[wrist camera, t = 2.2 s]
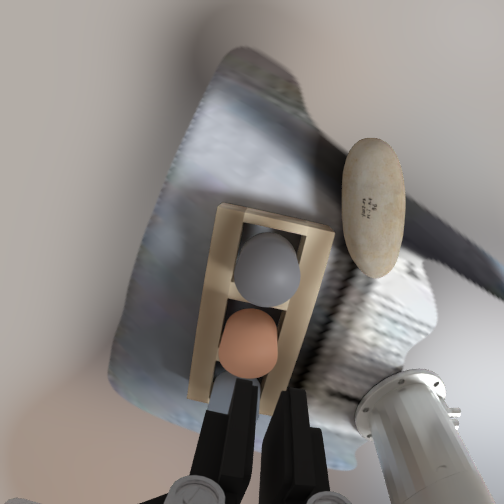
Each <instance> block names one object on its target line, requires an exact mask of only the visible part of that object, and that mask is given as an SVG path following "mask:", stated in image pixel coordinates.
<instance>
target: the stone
mask: <svg viewBox="0 0 504 504" xmlns="http://www.w3.org/2000/svg"><path fill="white" fill-rule="evenodd" d="M404 219H405V187H404V180H403V174H402V169H401V166H400V162H399V160H398V157H397V155H396V153H395V152H394V150H393V149H392V147H391V146H390V145H389V144H388V143H386V142H384V141H382V140H381V139H377V138H365V139H362V140H359V141H358V142H357V143H356V144H355V145H354V146H353V147H352V149H351V150H350V151H349V153H348V155H347V158H346V162H345V165H344V170H343V179H342V222H343V232H344V238H345V242H346V246H347V248H348V251H349V253H350V255H351V257H352V259H353V261H354V262H355V264H356V265H357V266H358V268H359V269H360V270H361V271H362V272H363V273H364V274H365V275H367V276H369V277H371V278H380V277H383V276H385V275H386V274H388V273H389V272H390V271H391V270H392V268H393V267H394V265H395V263H396V261H397V258H398V255H399V250H400V246H401V242H402V237H403V229H404Z"/></svg>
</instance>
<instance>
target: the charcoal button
mask: <svg viewBox="0 0 504 504" xmlns="http://www.w3.org/2000/svg"><path fill="white" fill-rule="evenodd" d="M300 277H301V275H300V268H299V264H298V260H297V256H296V253H295V250H294V248H293V246H292V244H291V243H290V242H289V241H288V240H287V239H286V238H285V237H283V236H281V235H279V234H276V233H271V232H265V233H260V234H257V235H255V236H253V237H251V238H250V239H249V240H247V241H246V243H245V244H244V245H243V247H242V249H241V251H240V254H239V257H238V260H237V263H236V266H235V270H234V282H235V285H236V288H237V290H238V292H239V293H240V294H241V296H242V297H243V298H244V299H245V300H247V301H248V302H250V303H252V304H254V305H257V306H260V307H274V306H278V305H281V304H283V303H285V302H286V301H288V300H289V299H290V298H291V297H292V296H293V295H294V294H295V292H296V291H297V289H298V287H299V284H300Z"/></svg>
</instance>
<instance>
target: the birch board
mask: <svg viewBox="0 0 504 504" xmlns="http://www.w3.org/2000/svg"><path fill="white" fill-rule="evenodd" d="M244 222H246V223H251V224H255V225H260V226H265V227H269V228H274V229H278V230H283V231H287V232H292V233H296V234H301V235H302V236H301V240H300V243H299V247H298V251H297V255H296V256H297V260H298V264H299V268H300V275H301V277H300V284H299V287H298V289H297V291H296V292H295V294H294V295H293V296H292V297H291V298H290V299H289V300H288V301H286V302H285V303H283V304H281V305H278V306H274V307H271V308H276V309H281V310H282V312H281V315H280V319H279V323H278V326H277V347H278V358H277V362H276V365H275V366H274V368H273V369H272V370H271V371H270V372H269V373H267V374H266V375H264V376H263V378H262V381H261V385H260V405H259V414H264V415H270V416H272V415H273V413H274V410H275V407H276V404H277V402H278V399H279V396H280V393H281V391H282V390H283V391H286V389H287V386H288V383H289V380H290V377H291V375H292V372H293V369H294V366H295V363H296V360H297V357H298V354H299V351H300V348H301V345H302V342H303V339H304V336H305V333H306V330H307V327H308V324H309V321H310V318H311V315H312V311H313V308H314V305H315V302H316V298H317V295H318V292H319V289H320V285H321V282H322V278H323V275H324V271H325V268H326V264H327V261H328V257H329V254H330V250H331V247H332V243H333V239H334V235H335V232H334V231H333V230H332V229H331V227H330V226H328V225H323V224H319V223H315V222H311V221H306V220H302V219H298V218H293V217H289V216H284V215H280V214H275V213H271V212H266V211H262V210H257V209H252V208H248V207H243V206H238V205H233V204H229V203H224V202H223V203H221V204H220V205H219V206H218V207H217V212H216V217H215V223H214V228H213V234H212V239H211V245H210V250H209V256H208V262H207V268H206V274H205V280H204V286H203V292H202V298H201V304H200V310H199V317H198V323H197V330H196V337H195V343H194V350H193V357H192V364H191V372H190V379H189V386H188V394H187V399H191V400H195V401H199V402H204V403H208V404H209V401H210V397H211V393H212V389H213V385H214V382H213V377H214V372H215V367H216V362H217V361H220V360H219V356H218V351H219V347H220V343H221V339H222V336H223V332H222V331H223V326H224V321H225V315H226V310H227V305H228V300H229V299H234V300H238V301H243V302H247V303H250V302H248V301H247V300H245V299H244V298H243V297H242V296H241V294H240V293H239V292H238V290H237V288H236V285H235V282H234V270H235V265H236V261H237V256H238V251H239V246H240V241H241V236H242V231H243V226H244Z"/></svg>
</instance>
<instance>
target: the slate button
mask: <svg viewBox="0 0 504 504" xmlns="http://www.w3.org/2000/svg"><path fill="white" fill-rule="evenodd" d="M236 378H240V379H245V380H250V381H253V385H254V386H258V398H257V412H256V422H257V420H258V418H259V405H260V383H259V381H258V380H257V378H252V379H246V378H241V377H237V376H235V375H233V374H231V373H229V372H228V371H225V372H222V373H221V374H219V375H218V376H217V377H216V379H215V381H214V385H213V389H212V393H211V397H210V401H209V404H208V408H207V410H209V411H214V412H219V413H223V414H228V410H229V406H230V402H231V398H232V394H233V390H234V386H235V382H236Z"/></svg>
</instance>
